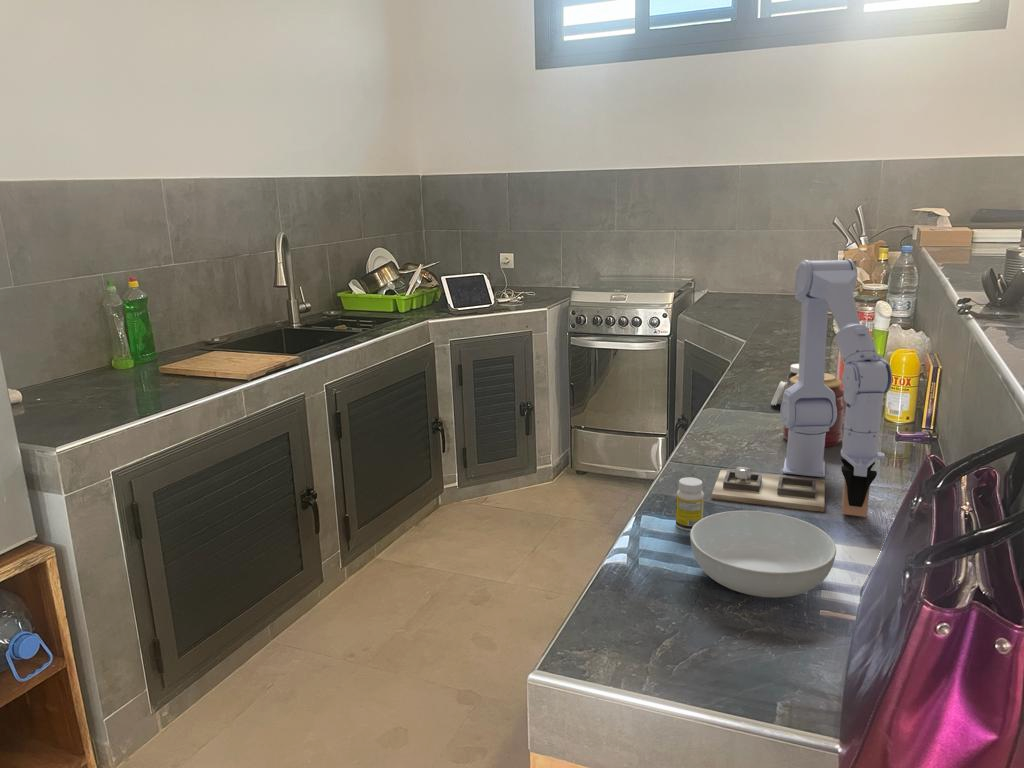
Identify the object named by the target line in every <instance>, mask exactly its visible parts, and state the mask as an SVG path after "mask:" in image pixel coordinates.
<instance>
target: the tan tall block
mask: <svg viewBox="0 0 1024 768" xmlns="http://www.w3.org/2000/svg"><path fill="white" fill-rule="evenodd" d="M843 480H844V481H843V489H842V490H843V491H842V501H841V502H842V503H841V511H842V512H841V514H842V515H847V516H848V515H849V516H857V517H858V516H859V517H864V518H867V517H868V508H869V499H870V498H869V497H870V489H871V485H870V486H869V488H868V491H867V494H866V497H865V500H864V503H863V505H862V507H856V506H849V502H848V493H847V484H846V481H845V478H844V477H843Z"/></svg>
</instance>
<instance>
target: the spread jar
mask: <svg viewBox="0 0 1024 768" xmlns="http://www.w3.org/2000/svg"><path fill="white" fill-rule="evenodd" d="M789 371H790V372H789V373H788V375H787V376H786V379H785V381H782V380H781V381H780V382H779V384H778V386H777V389H776V391H775V392H774V395H773V397H772V399H771V402H770V405H771V406H774V405H775V406H774V407H776V406H777V404H778V402H779V400H780V398H781V396H782V394H783V393H784V391H785V388H786V387H787V386H789V385H791V382H790V378H791V377H793V376H795V375H797V374H798V373H799V363H792V364H791V365H790V370H789Z"/></svg>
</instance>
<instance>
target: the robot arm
mask: <svg viewBox="0 0 1024 768" xmlns="http://www.w3.org/2000/svg"><path fill="white" fill-rule="evenodd" d="M857 268H858V267H857V266H856V264H855V262H854V261H853V260H852V259H851V258H847V259H836V260H835V259H834V260H832V259H831V260H808V259H803V260H802V261H801V262H800V263H799V265H798V267H797V269H796V270H795V275H794V276H795V277H794V281H795V282H794V299H795V300H796V301H797V302H800V303H801V316H800V317H801V321H800V335H799V336H800V340H799V341H800V342H799V357H798V358H799V360H798V361H799V362H798V364H799V377H798V382H796V383H795V384H793V385H792V386H791V387H789V388H788V389H786V390H785V389H784V390H783V393H782V394H783V395H782V402H781V404H780V410H779V411H780V412H779V413H780V419H781V423H782V424H783V425H785V427H786V428H789V429H788V441H787V445H786V457H785V458H784V463H783V469H782V473H783V474H786V475H787V474H789V475H796V476H797V475H798V476H799V475H800V476H807V477H817V478H825V476H826V475H825V473H826V472H825V470H826V461H825V460H824V457H825V447H824V446H825V434H826V432H827V431H829V427H832V426H833V425H834V423H835V421H836V418H837V407H836V401H835V393H834V392H833V391H832V390H831V389H830V388H829V387H827V386H826V385H825V384H824V373H826V372H825V370H826V369H825V367H826V356H827V355H826V353H827V350H826V349H827V335H828V333H827V332H828V318H829V317H828V314H829V310H830V312H831V314H832V316H833V318H834V321H835V323H836V326H837V328H838V329H839V330H838V332H837V333H836V335H835V342H836V345H837V348H838V351H839V354H840V357H841V361H842V364H843V366H844V368H843V372H842V373H841V381H842V387H843V388H842V389H843V390H844V396H843V401H844V402H845V413H844V424H843V426H844V427H843V435H842V436H843V437H842V448H841V449H840V460H841V463H842V465H841V467H840V468H841V473H842V475H843V479H844V478H845V481H846V484H847V493H848V502H849V506H856V507H862V505H863V503H864V500H865V497H866V494H867V491H868V488H869V486H870V487H871V484H872V483H873V481H874V480H875V479H876V477H877V476H878V475H877V474H878V472H877V470H872V468H873V467H874V466H875V464H876V461H878V460H880V461H881V460H882V461H883V460H885V458H886V456H885V453H884V452H880V451H879V443H880V433H881V432H880V430H881V421H882V412H883V403H884V402H883V400H884V394H887V393H888V392H889V391H890V389H891V388H892V382H893V374H892V368H891V364H890V363H889V361H888V360H886V359H884V357H883V356H882V355H881V354H880V355H879V354H878V351H877V348H876V346H875V342H874V340H873V337H872V335H871V332H870V328H868V326H866V325H863V324H861V322H860V318H859V314H858V308H857V304H856V299H855V296H854V292H855V289H856V286H857V281H858V269H857ZM821 397H822V398H821Z"/></svg>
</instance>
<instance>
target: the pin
mask: <svg viewBox="0 0 1024 768" xmlns="http://www.w3.org/2000/svg"><path fill="white" fill-rule="evenodd" d="M734 471H735V482H736V483H745V484H751V473H752V469H751V468H750V467H745V466H738V467H736V468H735V470H734Z"/></svg>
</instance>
